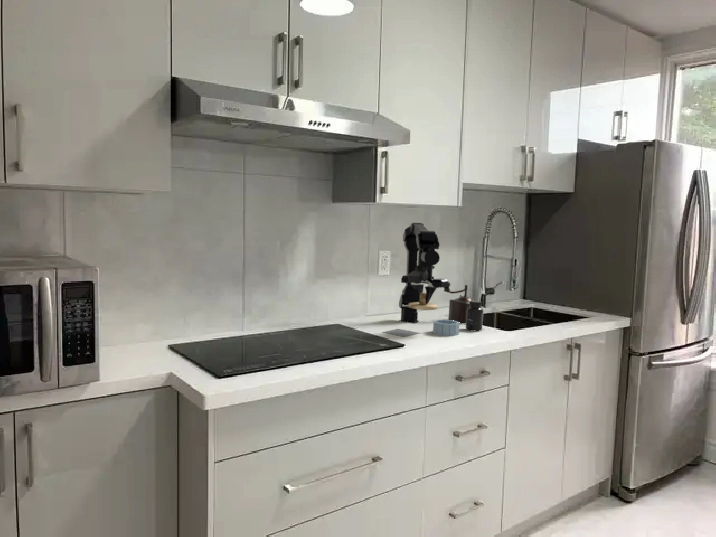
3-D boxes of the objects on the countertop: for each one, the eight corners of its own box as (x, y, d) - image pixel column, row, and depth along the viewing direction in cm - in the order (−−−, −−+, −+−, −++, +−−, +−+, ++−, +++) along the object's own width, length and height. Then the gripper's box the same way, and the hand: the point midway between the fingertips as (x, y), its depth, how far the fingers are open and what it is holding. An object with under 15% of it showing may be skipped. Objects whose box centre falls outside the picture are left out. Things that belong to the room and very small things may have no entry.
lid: (402, 306, 213) (403, 292, 213) (419, 304, 222) (420, 290, 221) (426, 310, 206) (427, 296, 206) (442, 308, 215) (443, 293, 214)
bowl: (428, 334, 216) (428, 321, 215) (441, 330, 224) (441, 318, 223) (450, 338, 210) (451, 325, 209) (463, 334, 217) (463, 322, 217)
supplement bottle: (465, 330, 226) (466, 301, 225) (465, 327, 233) (467, 299, 232) (482, 332, 225) (483, 303, 224) (482, 328, 231) (484, 300, 230)
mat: (381, 333, 213) (381, 332, 213) (397, 330, 221) (397, 328, 221) (404, 338, 206) (405, 336, 206) (420, 334, 214) (420, 333, 214)
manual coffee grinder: (464, 318, 256) (466, 280, 255) (480, 322, 246) (483, 282, 245) (437, 320, 249) (439, 280, 247) (453, 324, 239) (455, 283, 237)
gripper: (393, 262, 213) (391, 301, 214) (434, 266, 200) (432, 308, 202) (410, 261, 221) (408, 299, 222) (450, 265, 209) (448, 305, 210)
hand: (423, 303), depth 214 cm, fingers closed on lid, 3 cm apart
